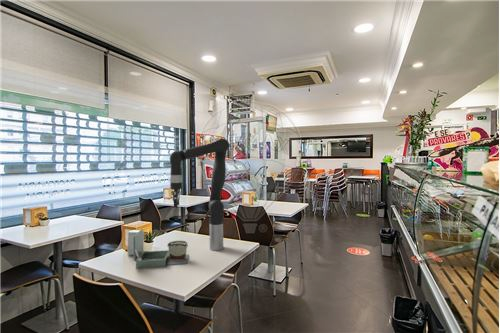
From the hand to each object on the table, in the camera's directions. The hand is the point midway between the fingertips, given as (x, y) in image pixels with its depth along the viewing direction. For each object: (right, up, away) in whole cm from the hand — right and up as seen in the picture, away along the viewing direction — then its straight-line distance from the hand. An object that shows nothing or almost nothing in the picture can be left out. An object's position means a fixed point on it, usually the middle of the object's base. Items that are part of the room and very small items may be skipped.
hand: (176, 206), depth 173 cm
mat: (+5, -30, -15) cm, 34 cm away
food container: (+5, -30, -13) cm, 33 cm away
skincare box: (-26, -31, -3) cm, 40 cm away
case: (-8, -30, -18) cm, 36 cm away
